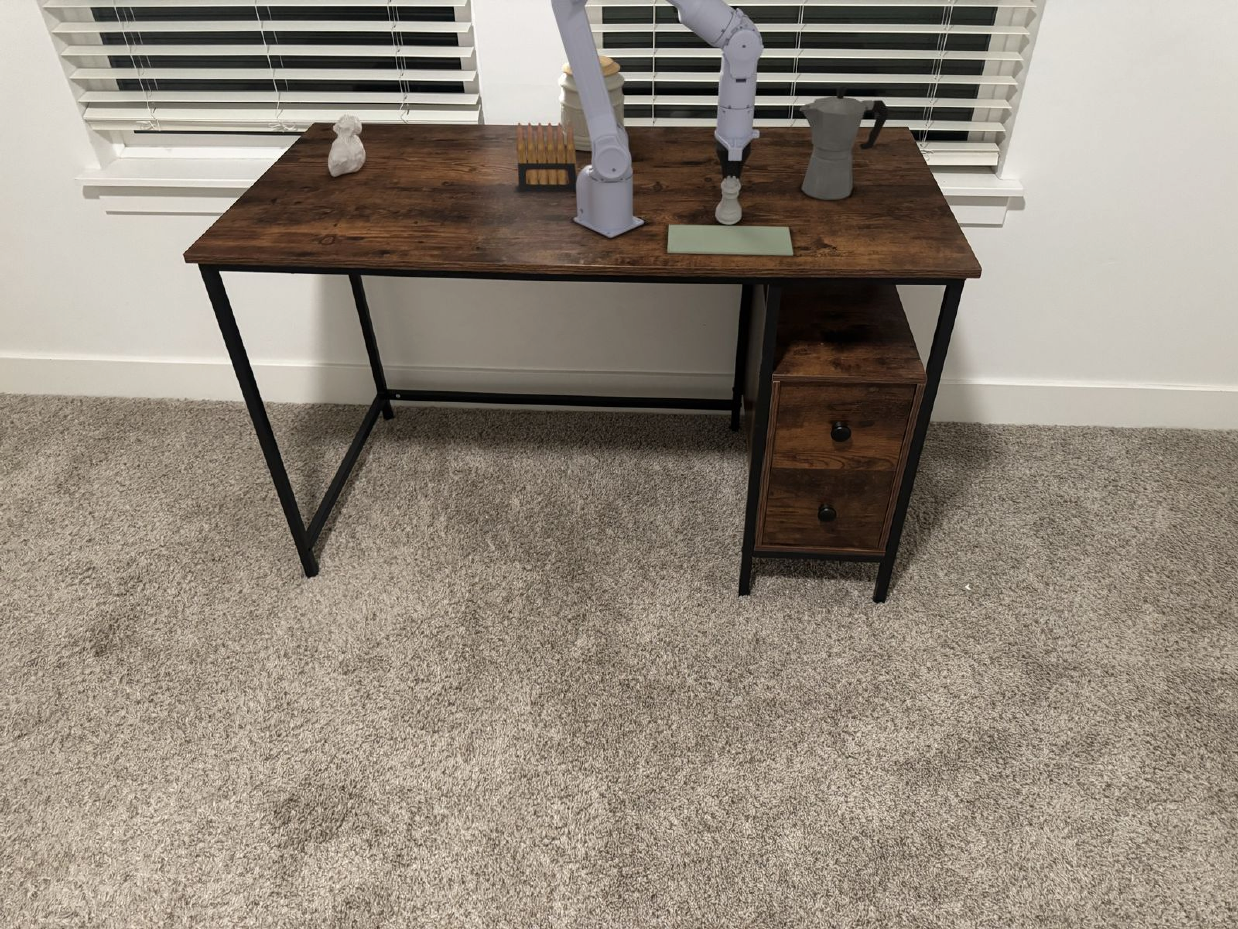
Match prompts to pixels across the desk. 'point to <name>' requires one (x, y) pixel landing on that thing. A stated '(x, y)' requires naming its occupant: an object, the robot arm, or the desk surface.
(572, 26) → the robot arm
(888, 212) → the desk surface
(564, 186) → the ammunition clip
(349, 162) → the white tied sack
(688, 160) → the desk surface
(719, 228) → the mat
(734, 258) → the desk surface
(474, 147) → the desk surface
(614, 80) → the jar
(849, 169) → the coffeepot
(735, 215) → the rook chess piece
